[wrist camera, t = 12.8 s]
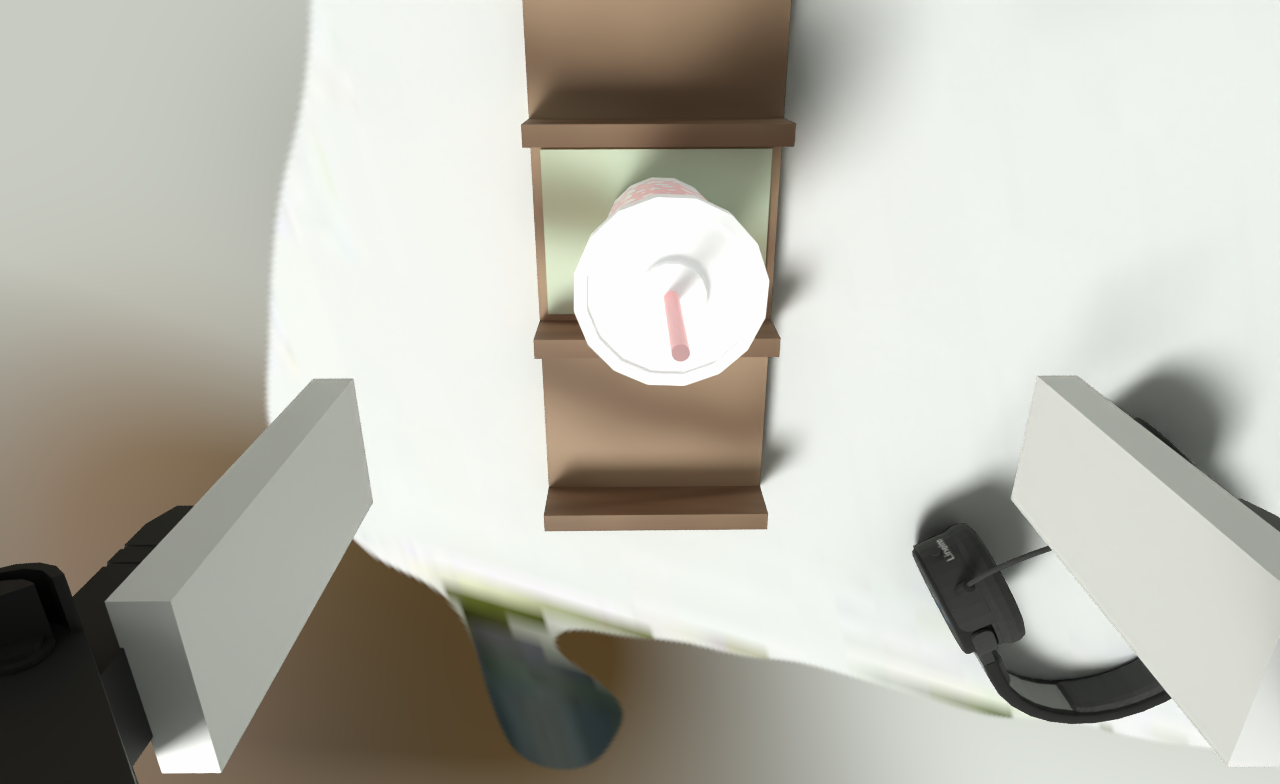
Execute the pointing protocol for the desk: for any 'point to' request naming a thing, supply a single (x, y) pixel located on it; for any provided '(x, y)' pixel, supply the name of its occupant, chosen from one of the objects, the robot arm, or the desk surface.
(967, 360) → the desk surface
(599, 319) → the beverage cup
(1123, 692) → the headset
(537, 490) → the desk surface
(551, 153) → the slot rack
